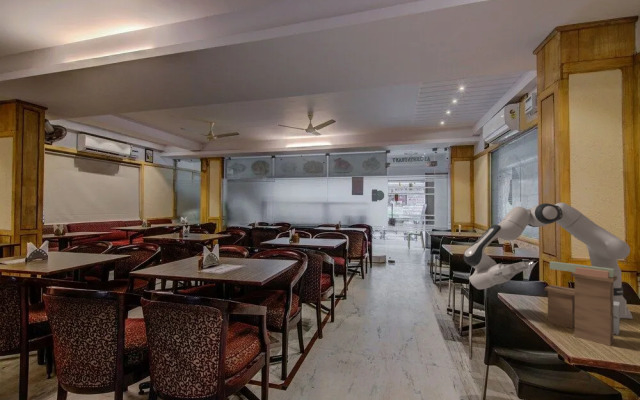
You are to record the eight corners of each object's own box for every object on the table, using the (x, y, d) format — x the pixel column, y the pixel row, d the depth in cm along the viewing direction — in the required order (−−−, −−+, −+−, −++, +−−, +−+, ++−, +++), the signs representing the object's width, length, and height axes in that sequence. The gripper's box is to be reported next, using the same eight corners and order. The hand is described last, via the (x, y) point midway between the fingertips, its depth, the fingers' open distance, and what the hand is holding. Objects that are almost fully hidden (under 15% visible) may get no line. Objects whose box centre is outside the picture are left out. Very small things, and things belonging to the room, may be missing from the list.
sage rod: (551, 268, 144) (551, 261, 144) (614, 276, 127) (614, 269, 127) (549, 268, 142) (549, 262, 142) (613, 277, 126) (613, 269, 126)
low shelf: (550, 318, 154) (550, 284, 154) (579, 325, 145) (579, 289, 145) (544, 322, 148) (544, 287, 148) (574, 329, 139) (574, 292, 140)
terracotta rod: (577, 273, 133) (577, 267, 133) (609, 277, 125) (609, 271, 126) (575, 273, 132) (575, 267, 132) (607, 278, 124) (608, 271, 124)
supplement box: (596, 330, 139) (596, 301, 139) (597, 326, 144) (597, 298, 144) (619, 335, 134) (619, 305, 134) (620, 331, 139) (620, 301, 139)
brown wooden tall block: (576, 331, 138) (576, 270, 138) (617, 341, 128) (617, 276, 128) (570, 336, 132) (571, 273, 133) (613, 347, 122) (613, 279, 123)
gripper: (488, 269, 153) (516, 258, 144) (506, 265, 166) (533, 254, 157) (495, 282, 151) (524, 272, 141) (512, 276, 164) (540, 267, 154)
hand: (529, 263), depth 149 cm, fingers open, 8 cm apart
